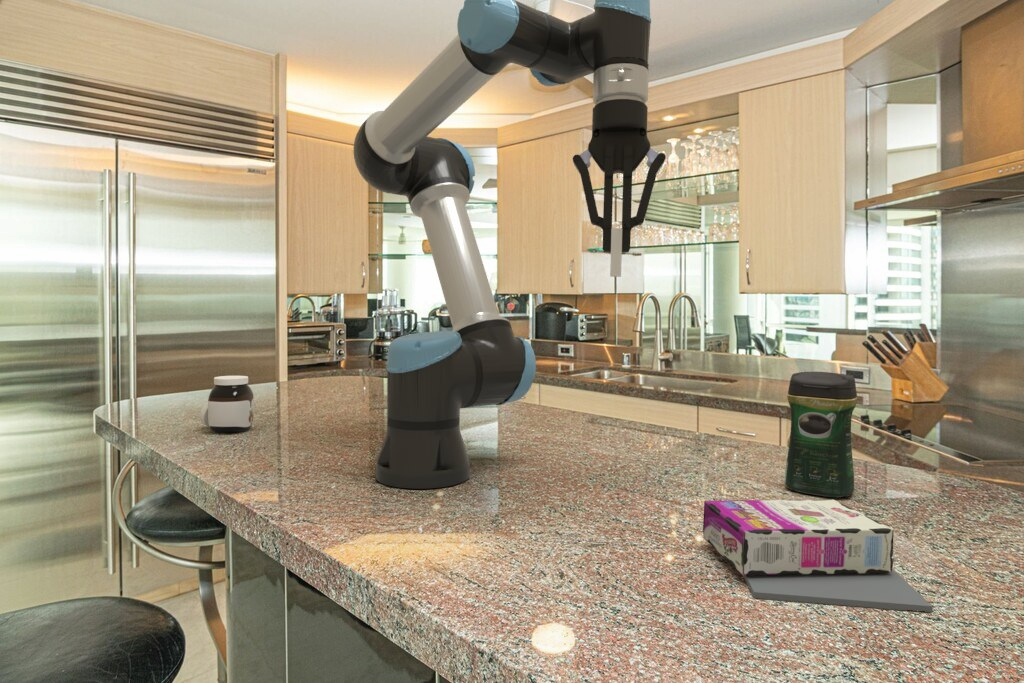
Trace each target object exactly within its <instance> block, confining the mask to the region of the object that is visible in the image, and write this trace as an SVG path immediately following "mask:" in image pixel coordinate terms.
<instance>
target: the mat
mask: <svg viewBox="0 0 1024 683" xmlns="http://www.w3.org/2000/svg"><path fill="white" fill-rule="evenodd" d="M742 577H743V578H744V581H745V583H746V585H747V587H748V589H749V591H750V594H751V596H752V597H753V599H761V600H770V601H771V600H773V601H785V602H787V601H788V602H798V603H811V604H822V605H823V604H825V605H834V606H835V605H836V606H846V607H861V608H869V609H870V608H871V609H883V610H884V609H885V610H896V611H899V610H900V611H907V610H913V611H912V612H919V611H925V612H924V613H931V612H932V613H933V608H934V606H933V605H932V604H931V603H930V602H929V601H928V600H926V598H924V597H923V596H922V595H921V593H919V592H918V591H917V590H916V589H915V588H914V587H913V586H912V585H911V584H910V583H909V582H907V580H906V579H904V578H903V577H902V576H901V575H900V574H899V573H898V572H897V571H896V570H895V569H894V568H892V573H855V574H778V575H742ZM914 610H916V611H914ZM917 610H918V611H917Z"/></svg>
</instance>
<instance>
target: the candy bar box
mask: <svg viewBox="0 0 1024 683" xmlns="http://www.w3.org/2000/svg"><path fill="white" fill-rule="evenodd" d="M702 520H703V524H702V536H703V540H705V541H706V542H707V543H708V544H709V545H710V546H711V547H712V548H713V549H715V550H716V551H717V552H718V553H719V554H720V555H721V556H722V557H723V558H724V559H725V560H726V561H727V562H728V563H730V564H731V566H733V568H734V569H736V570H737V571H738V572H739V573H740V574H741V575H742V576H743V575H778V574H855V573H892V569H894V559H893V556H894V537H895V536H894V535H895V530H894V529H893V528H891V527H889V526H888V525H885V524H884V523H881V522H880V521H877V520H875V519H873V518H871V517H869V516H867V515H866V514H864V513H861V512H859V511H857V510H856V509H853V508H851V507H849V506H847V505H845V504H843V503H841V502H839V501H837V500H835V499H816V500H815V499H805V500H804V499H790V500H789V499H786V500H785V499H784V500H783V499H781V500H780V499H774V500H773V499H771V500H769V499H767V500H763V499H760V500H756V499H755V500H754V499H753V500H743V499H742V500H741V499H740V500H738V499H737V500H704V501H703V519H702Z"/></svg>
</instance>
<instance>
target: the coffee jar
mask: <svg viewBox="0 0 1024 683" xmlns="http://www.w3.org/2000/svg"><path fill="white" fill-rule="evenodd" d="M786 397H787V402H788V405H789V407H790V434H789V435H790V436H789V442H788V451H787V458H786V463H785V473H784V484H785V486H786V487H787V488H788V489H789V490H791V491H796V492H799V493H802V494H805V495H812V496H818V497H819V496H820V497H829V498H842V497H846V498H847V497H848V496H851V495H852V494H853V493H854V489H855V474H854V461H853V448H852V418H853V417H852V416H853V413H854V410H855V408H856V406H857V403H858V393H857V387H856V380H855V376H854V375H851V374H845V373H837V372H828V371H801V372H800V371H799V372H795V373H793V374H792V375H791V377H790V381H789V385H788V391H787V396H786Z"/></svg>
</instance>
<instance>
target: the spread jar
mask: <svg viewBox="0 0 1024 683" xmlns="http://www.w3.org/2000/svg"><path fill="white" fill-rule="evenodd" d="M213 384H214V386H213V388H212V389H211V391H210V393H209V394H208V399H207V400H208V401H207V402H206V403H204V405H203V406H202V408H201V410H200V414H199V418H200V422H201V423H202V424H203V425H205V426H207V427H209V429H210V431H212V432H213V433H215V434H219V435H233V434H234V435H235V434H242V433H246V432H248V431H250V429H251V428H252V426H253V423H254V419H255V418H254V417H255V415H254V414H255V403H254V402H255V399H254V398H255V397H254V392H253V389H252V388H251V386H249V376H248V375H221V376H215V377H213Z"/></svg>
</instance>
